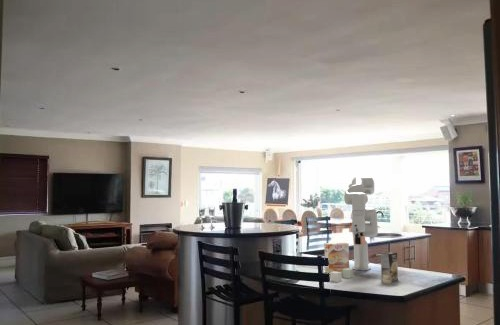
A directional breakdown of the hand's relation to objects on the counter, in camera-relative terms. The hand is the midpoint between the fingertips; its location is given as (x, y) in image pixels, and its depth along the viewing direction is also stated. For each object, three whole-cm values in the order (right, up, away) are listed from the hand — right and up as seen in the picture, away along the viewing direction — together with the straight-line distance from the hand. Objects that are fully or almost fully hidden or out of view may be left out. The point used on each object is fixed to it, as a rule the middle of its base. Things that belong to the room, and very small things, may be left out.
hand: (359, 243), depth 256 cm
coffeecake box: (-8, -25, +27) cm, 38 cm away
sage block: (-4, -24, +12) cm, 27 cm away
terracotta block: (0, -1, 0) cm, 1 cm away
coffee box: (+19, -22, +1) cm, 29 cm away
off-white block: (-14, -23, 0) cm, 27 cm away
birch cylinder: (+14, -22, -9) cm, 27 cm away
